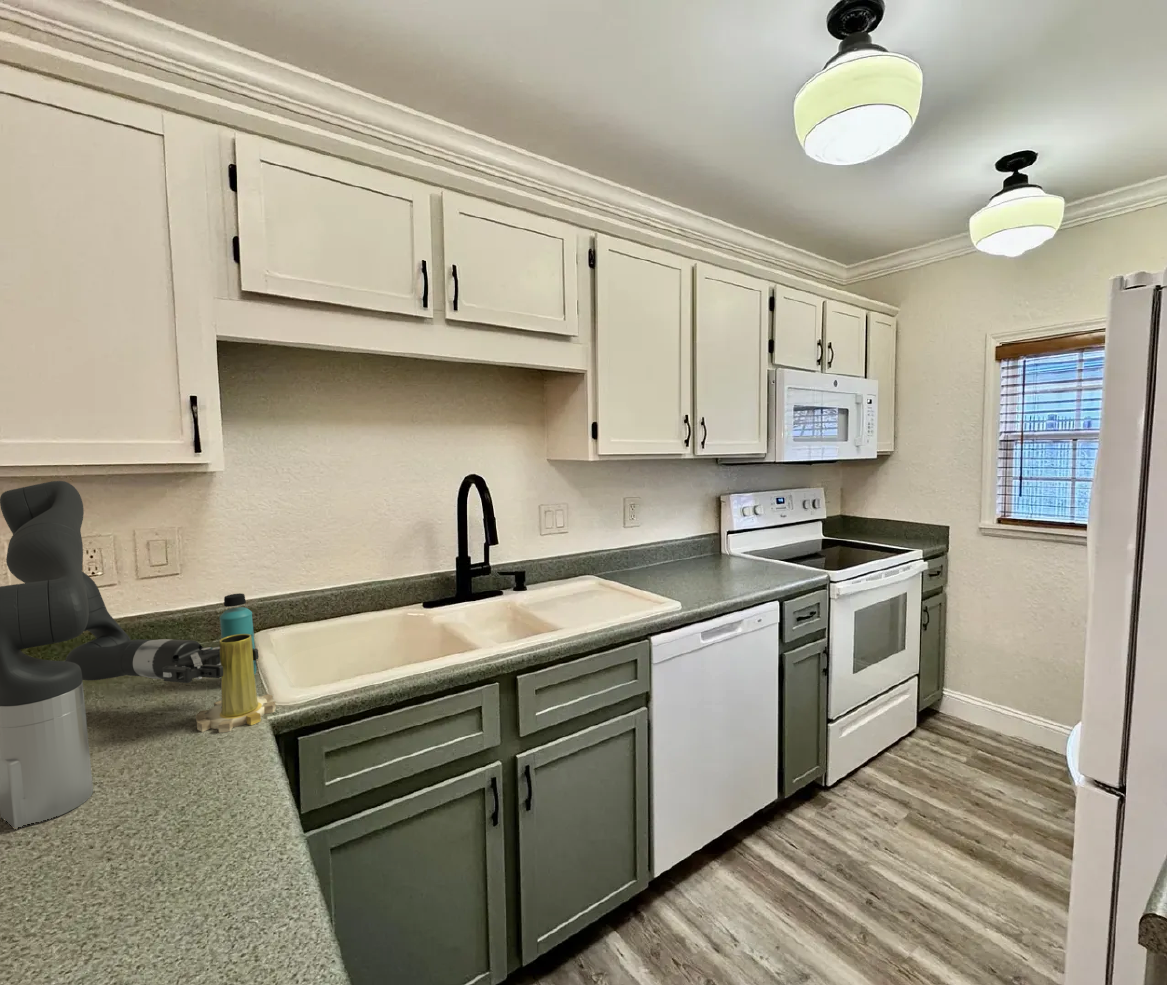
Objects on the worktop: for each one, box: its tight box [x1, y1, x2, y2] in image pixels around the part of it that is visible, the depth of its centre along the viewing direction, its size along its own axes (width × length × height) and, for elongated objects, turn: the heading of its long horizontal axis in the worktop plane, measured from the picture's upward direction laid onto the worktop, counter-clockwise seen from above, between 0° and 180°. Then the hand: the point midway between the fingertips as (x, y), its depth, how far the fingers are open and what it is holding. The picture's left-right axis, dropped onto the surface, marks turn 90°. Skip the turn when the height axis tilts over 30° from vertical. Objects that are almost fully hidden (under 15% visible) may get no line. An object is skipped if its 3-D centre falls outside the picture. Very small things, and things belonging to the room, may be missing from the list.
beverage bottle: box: [219, 593, 258, 676], centre depth 123 cm, size 6×7×20 cm
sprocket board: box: [195, 693, 277, 734], centre depth 107 cm, size 13×13×2 cm
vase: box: [218, 634, 258, 717], centre depth 106 cm, size 6×6×14 cm
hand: (240, 662), depth 106 cm, fingers open, 8 cm apart
